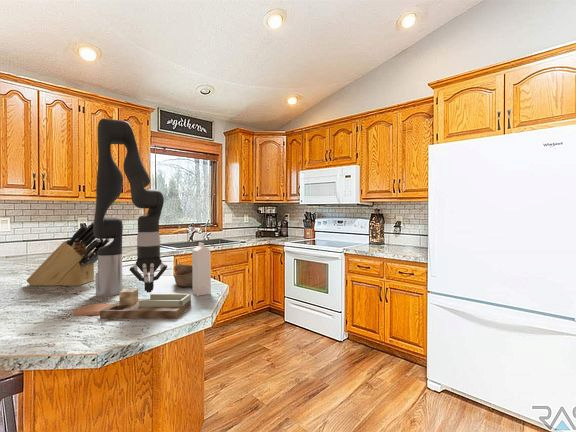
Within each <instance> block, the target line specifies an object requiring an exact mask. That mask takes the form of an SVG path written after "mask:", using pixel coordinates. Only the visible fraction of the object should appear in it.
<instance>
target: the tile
mask: <svg viewBox="0 0 576 432" xmlns="http://www.w3.org/2000/svg"><path fill="white" fill-rule="evenodd" d="M113 304H114V303H89V304H88V305H84V306H83V307H80V308H77V309H76V310H73V316H80V315H81V316H82V315H83V316H85V315H87V316H100V311H101V310H103V309H105V308H107V307H109V306H111V305H113Z"/></svg>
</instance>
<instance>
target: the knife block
mask: <svg viewBox="0 0 576 432" xmlns="http://www.w3.org/2000/svg"><path fill="white" fill-rule="evenodd" d="M93 226H94V221H92V222H91V223H90V224H89V225H88V226H86V225H82V226H81V227H80V228H78V230H77V231H76V232H75V233H74V234H73V235H72V237H71V238H70V239H67V240H65V241H63V242H62V243H61V244H60V245H59V246H58V247H57V248H55V250H54V251H52V253H51V254H50V255H49V256H48V257H47V258H46V259H45V260H44V261H43V262H42V263H41V265H39V266H38V267H37V268H36V269H35V270H34V271H33V273H32V274H31V275H30V276H29V277H28V278H27V279H26V280H25V281H26V283H28V285H30V286H34V287H38V286H73V287H75V286H76V287H78V286H82V285H84V284H88V283H90V282H94V280H95V279H94V278H95V273H94V272H95V263H96V262H98V249H99V248H101V247H103V246H106V245H108V244H109V242H110V241H111V239H97V238H95V236H94V233H93Z"/></svg>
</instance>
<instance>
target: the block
mask: <svg viewBox="0 0 576 432" xmlns="http://www.w3.org/2000/svg"><path fill="white" fill-rule="evenodd" d="M118 295H119V300H118V302H119V305H133V304H134V303H136V302H138V299H139V289H138V288H125V289H122V291H121V292H119V294H118Z"/></svg>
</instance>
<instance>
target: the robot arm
mask: <svg viewBox="0 0 576 432" xmlns="http://www.w3.org/2000/svg"><path fill="white" fill-rule="evenodd" d="M135 137H136V136H135V133H134V131H133V128H132V126H131V124H130V123H129V122H128V121H126V120H121V119H113V118H101V119H100V120H99V121H98V123H97V156H98V157H97V158H98V159H97V173H96V184H95V185H96V191H95V192H96V193H95V196H96V197H95V210H94V217H93V222H94V226H93V233H94V236H95V238H96V239H103V240H105V239H110V240H111V239H113V240H112V241H111V242H110V243H107V244H106V245H105V246H103V247H101V248H99V249H98V260H97V272H95V296H98V297H110V296H111V297H112V296H116V295H117V296H118V295H119V292H121V291H123V290H124V289H123V230H124V227H123V226H124V225H123V224H124V223H123V220H122V218H121V217H119V216H118V217H105V216H106V213H107V211H108V210H109V208H110V207H111V206H112V205H113V204H114V202H115V201H116V200H117V199H118V198H119V197H120V195H121V194H122V191H123V185H124V183H123V182H124V176H123V173H124V174H125V177H126V179H127V180H128V183H129V187H130V197H131V202H132V204H133V205H134V207H136V208H138V209H147V212H146V214H142V215H140V216H138V218H137V238H136V244H137V245H136V247H137V248H136V250H137V254H136V255H137V257H136V259H137V260H136V261H135V264H134V265H132V266H130V267H129V271H130V272H131V273H132V274H133V275H134V276H135V278H136V279H137V280H138V282H143V283H144V291H145V292H146V293H147V294H149V293H152V291H153V290H154V286H155V285H154V282H155V281H157V280H159V279H160V277H161V276H162V275H163V274H164V272H165V271H166V270H168V269H167V268H168V265H167V264H165V263H163V262H162V259H161V236H160V219H161V215H162V211H163V207H164V203H165V199H164V195H163V193H162V192H161V190H159V189H154V188H153V189H151V188H147V187H148V186H149V185H150V183H151V178H150V176H149V174H148V172H147V170H146V168H145V166H144V163H143V161H142V158H141V155H140V152H139V148H138V147H139V146H138V144H137V140H136V138H135ZM112 145H123V146H124V147H125V149H126V155H125V157H124V161H123V173H122V171H121V170H120V168H119V166H118V165H117V163H116V162H115V159H114V158H113V156H112V149H111V148H112V147H111V146H112ZM159 267H160V268H159ZM158 269H160V270H159V271H158V273H157V274H156V275H155V272H156V271H157V270H158ZM138 270H140V271H141V272H142V273H143V275H142V274H141V273H140V272H139V271H138Z"/></svg>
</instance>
